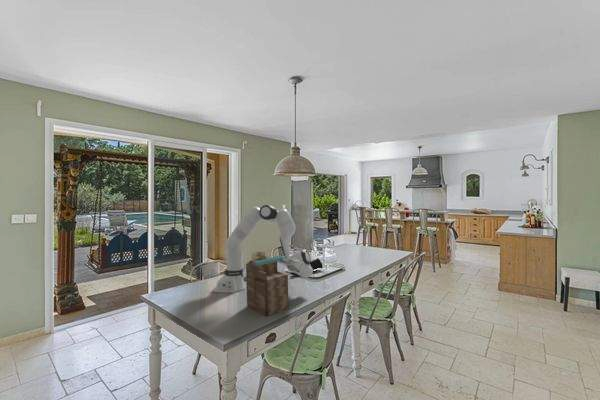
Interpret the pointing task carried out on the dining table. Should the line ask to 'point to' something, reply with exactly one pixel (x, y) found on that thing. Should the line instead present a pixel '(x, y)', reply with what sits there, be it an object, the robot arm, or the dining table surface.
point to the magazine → (313, 265)
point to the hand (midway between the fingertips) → (279, 257)
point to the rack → (266, 286)
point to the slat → (269, 260)
